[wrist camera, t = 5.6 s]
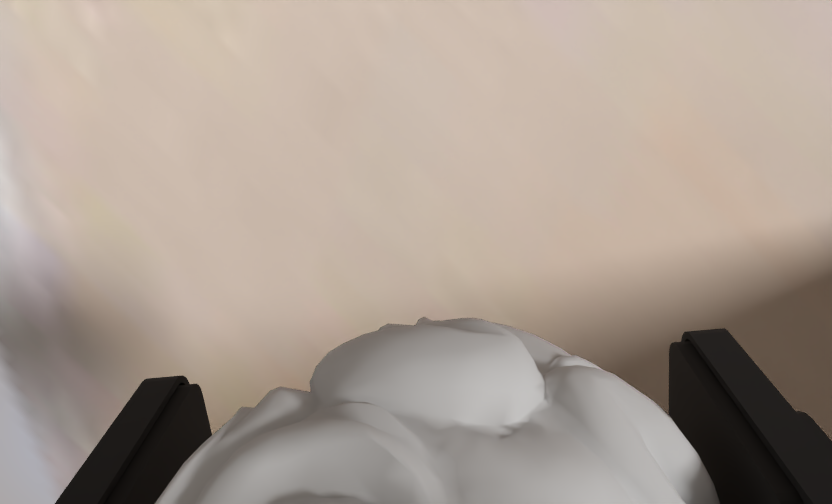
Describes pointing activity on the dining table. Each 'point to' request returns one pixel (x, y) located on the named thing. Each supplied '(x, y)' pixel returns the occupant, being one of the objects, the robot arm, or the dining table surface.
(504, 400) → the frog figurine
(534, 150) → the dining table surface
